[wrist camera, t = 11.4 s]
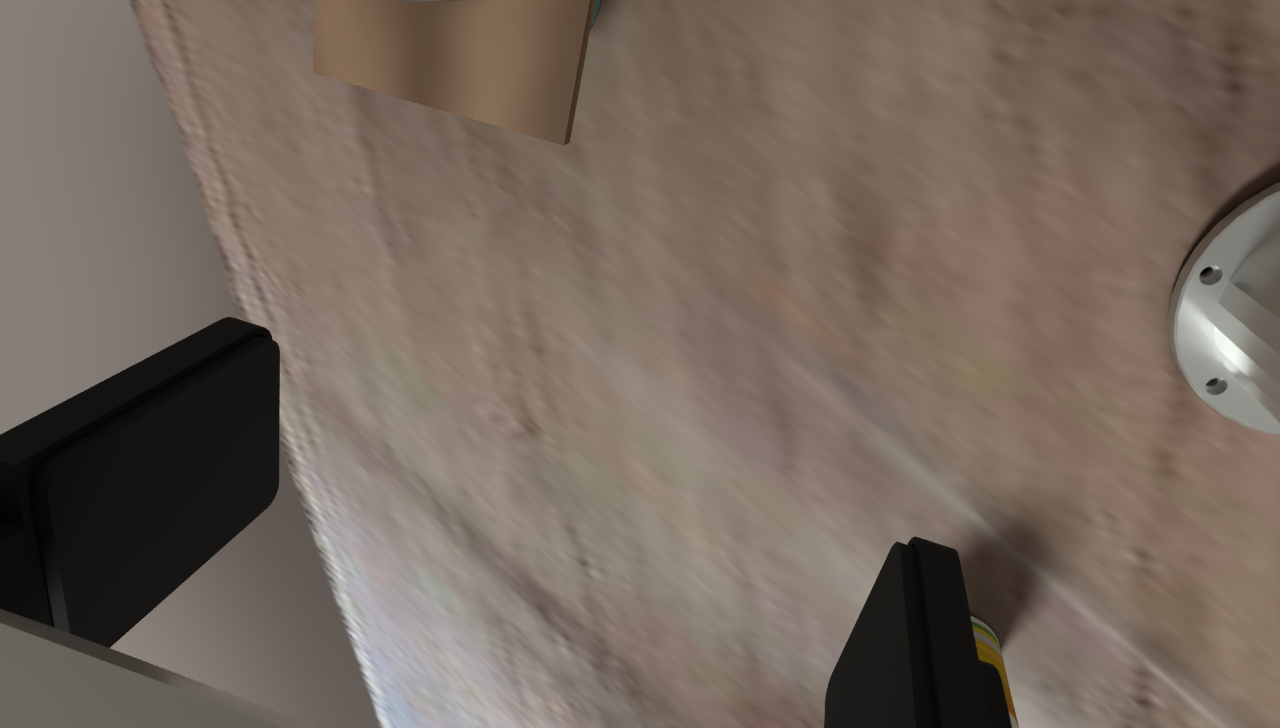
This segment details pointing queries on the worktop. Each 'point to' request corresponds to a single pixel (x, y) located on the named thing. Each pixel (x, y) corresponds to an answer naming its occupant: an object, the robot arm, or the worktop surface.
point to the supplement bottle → (993, 659)
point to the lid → (463, 56)
